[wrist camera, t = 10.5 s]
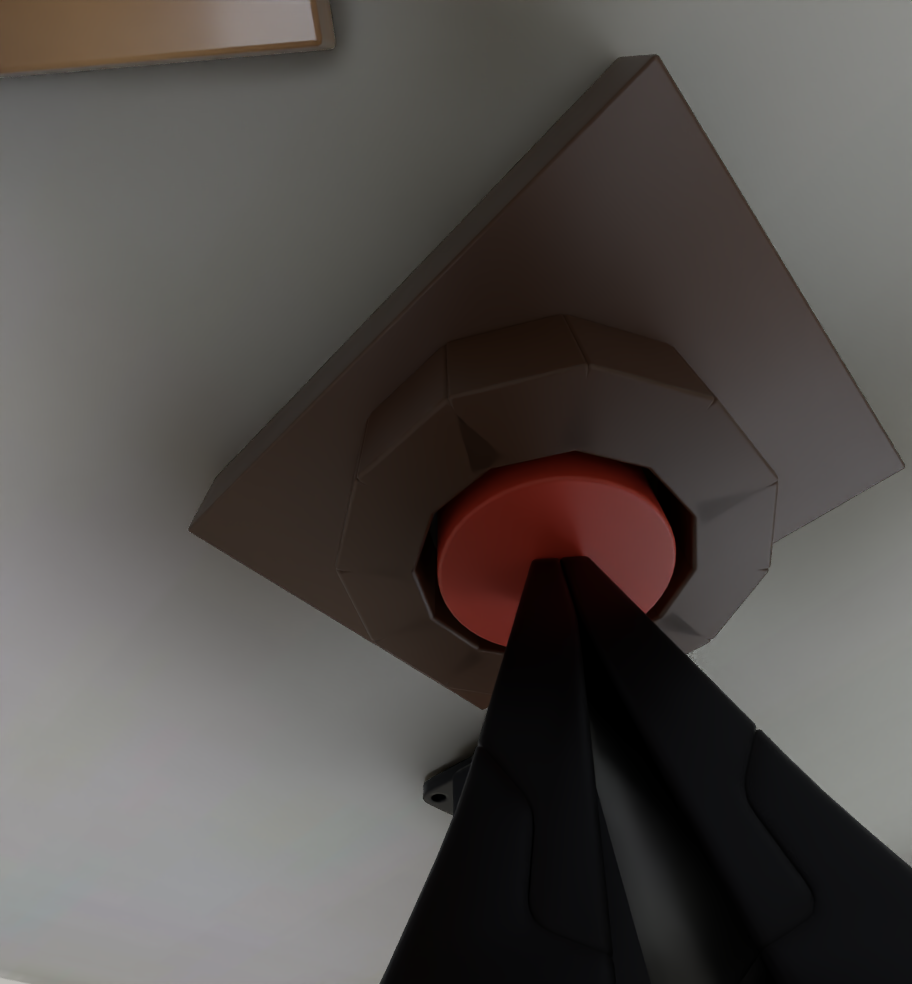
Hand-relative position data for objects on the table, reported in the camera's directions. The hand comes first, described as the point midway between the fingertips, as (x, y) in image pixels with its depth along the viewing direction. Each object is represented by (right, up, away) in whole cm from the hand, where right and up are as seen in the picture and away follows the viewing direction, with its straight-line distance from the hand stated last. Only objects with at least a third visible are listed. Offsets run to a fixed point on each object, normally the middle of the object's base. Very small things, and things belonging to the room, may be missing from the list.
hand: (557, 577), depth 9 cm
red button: (0, +1, +1) cm, 2 cm away
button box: (0, +2, +3) cm, 4 cm away
